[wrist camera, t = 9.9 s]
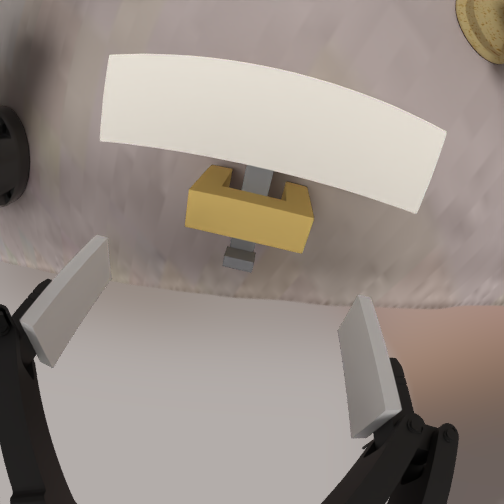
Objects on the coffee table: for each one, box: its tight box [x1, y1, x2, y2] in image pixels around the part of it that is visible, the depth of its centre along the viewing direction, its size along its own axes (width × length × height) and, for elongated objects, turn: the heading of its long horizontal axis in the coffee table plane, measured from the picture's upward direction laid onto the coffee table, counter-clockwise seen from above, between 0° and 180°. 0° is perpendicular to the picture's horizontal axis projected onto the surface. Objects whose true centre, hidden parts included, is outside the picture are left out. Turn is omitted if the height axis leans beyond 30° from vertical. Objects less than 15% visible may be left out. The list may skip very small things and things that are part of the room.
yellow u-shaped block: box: [185, 165, 314, 254], centre depth 23 cm, size 9×3×7 cm, turn 78°
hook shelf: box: [100, 54, 447, 272], centre depth 21 cm, size 18×15×13 cm
